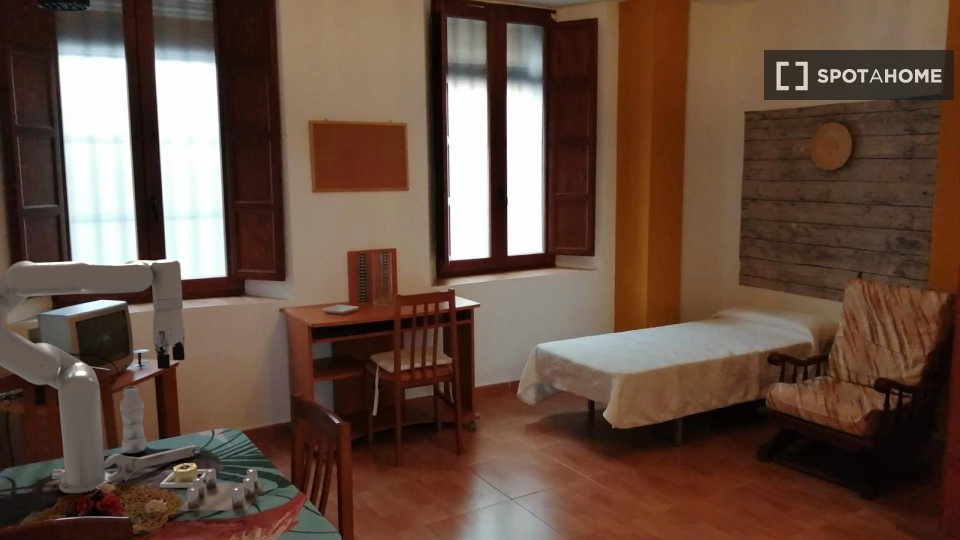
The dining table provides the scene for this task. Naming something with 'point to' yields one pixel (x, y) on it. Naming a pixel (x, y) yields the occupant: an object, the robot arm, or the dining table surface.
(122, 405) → the plastic bottle
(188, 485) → the white square frame
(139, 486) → the dining table surface
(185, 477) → the nut
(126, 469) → the wrench
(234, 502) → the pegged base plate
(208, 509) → the board
